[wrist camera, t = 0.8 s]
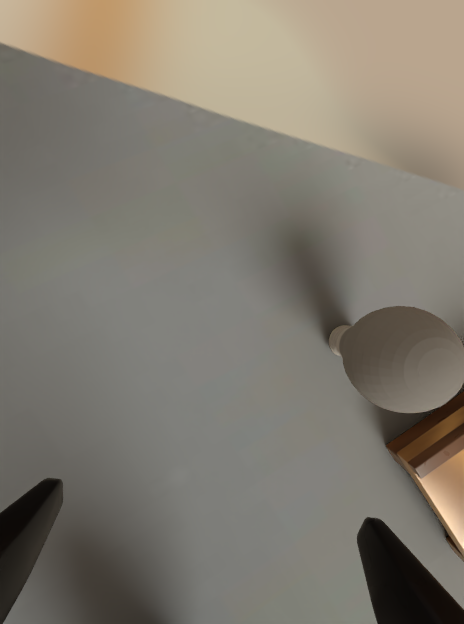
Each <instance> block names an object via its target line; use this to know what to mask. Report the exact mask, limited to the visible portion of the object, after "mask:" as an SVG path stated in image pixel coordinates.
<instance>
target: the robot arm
mask: <svg viewBox="0 0 464 624" xmlns="http://www.w3.org/2000/svg"><path fill="white" fill-rule="evenodd" d="M62 503H63V483H62V480H61V479H55V478H46V479H44V480H43V481H41V482H40V483H39V484H37V485H36V486H35V487H34V488H32V489H31V490H30V491H28V492H27V493H26V494H24V495H23V496H22V497H21V498H19V499H18V500H17V501H15V502H14V503H13V504H11V505H10V506H9V507H7V508H6V509H5V510H4V511H2V512H1V513H0V624H3V622H4V620H5V619H6V617H7V615H8V613H9V612H10V610H11V608H12V606H13V604H14V603H15V601H16V599H17V597H18V596H19V594H20V592H21V590H22V588H23V587H24V585H25V583H26V581H27V579H28V577H29V575H30V573H31V571H32V569H33V567H34V565H35V563H36V560H37V558H38V556H39V554H40V552H41V550H42V548H43V545H44V543H45V541H46V539H47V537H48V535H49V532H50V530H51V528H52V526H53V524H54V522H55V520H56V517H57V515H58V513H59V511H60V509H61V506H62ZM357 544H358V548H359V552H360V556H361V561H362V565H363V569H364V573H365V577H366V581H367V585H368V590H369V594H370V598H371V602H372V606H373V609H374V613H375V616H376V620H377V623H378V624H464V610H463V608H462V607H461V606H460V605H459V604H458V603H457V602H456V601H455V600H454V599H453V597H452V596H451V595H450V594H449V593H448V592H447V591H446V590H445V589H444V588H443V587H442V585H441V584H440V583H439V582H438V581H437V580H436V579H435V578H434V577H433V576H432V574H431V573H430V572H429V571H428V570H427V569H426V568H425V567H424V566H423V565H422V564H421V562H420V561H419V560H418V559H417V558H416V557H415V556H414V555H413V554H412V553H411V551H410V550H409V549H408V548H407V547H406V546H405V545H404V544H403V543H402V542H401V541H400V539H399V538H398V537H397V536H396V535H395V534H394V533H393V532H392V531H391V530H390V528H389V527H388V526H387V525H386V524H385V523H384V522H383V521H382V520H380V519H378V518H370V517H367V518H366V519H365V520H364V522H363V524H362V526H361V528H360V530H359V532H358V535H357Z"/></svg>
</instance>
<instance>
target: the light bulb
mask: <svg viewBox="0 0 464 624" xmlns="http://www.w3.org/2000/svg"><path fill="white" fill-rule="evenodd" d="M329 346H330V349H331V350H332V352H333V353H335V354H336V355H338V356H340V357H342V358H343V365H344V368H345V371H346V374H347V376H348V377H349V379H350V381H351V383H352V384H353V386H354V387H355V388H356V389H357V390H358V392H359V393H360V394H361V395H363V396H364V397H365V398H366V399H368V400H369V401H370V402H372V403H373V404H375V405H377V406H379V407H381V408H383V409H386V410H390V411H394V412H399V413H419V412H426V411H429V410H432V409H435V408H438V407H440V406H442V405H443V404H445V403H447V402H448V401H449V400H450V399H451V398H452V397H454V396H455V395H456V394H457V392H458V391H459V390H460V389H461V387H462V385H463V383H464V346H463V344H462V342H461V340H460V339H459V337H458V336H457V335H456V333H455V332H454V331H453V329H452V328H451V327H450V326H448V325H447V324H446V323H445V322H444V321H443V320H441V319H440V318H438V317H437V316H435V315H433V314H431V313H429V312H427V311H424V310H421V309H418V308H414V307H404V306H396V307H388V308H383V309H380V310H377V311H374V312H371V313H369V314H367V315H366V316H364V317H362V318H361V319H360V320H359V321H358V322H356V323H355V324H354V326H348V325H342V326H339V327H337V328H336V329H334V330H333V331H332V333H331V335H330V337H329Z"/></svg>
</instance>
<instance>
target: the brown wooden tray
mask: <svg viewBox="0 0 464 624" xmlns="http://www.w3.org/2000/svg"><path fill="white" fill-rule="evenodd" d="M386 447H387V449H388V451H389V452H390V454H391V455H392V457H393V458H394V460H395V461H396V462H397V463H399V464H400V465H401V466H402V467H403V468H404V469H405V470H406V471H407V472H409V473H410V475H411V476H412V478H413V479H414V481H415V483H416V484H417V486H418V487H419V489H420V490H421V492H422V493H423V495H424V496H425V498H426V500H427V501H428V503H429V504H430V506H431V507H432V509H433V510H434V512H435V513H436V515H437V517H438V518H439V520H440V521H441V523H442V524H443V526H444V527H445V529H446V530H447V532H448V534H449V535H450V536H448V537H447V538H446V540H447V541H448V543H449V544H450V546H451V548H452V549H453V551H454V552H455V553H456V554H457V555H458V556H459V557H460V558H461V559H462V561H463V562H464V391H463V392H462V393H460V394H459V395H457V396H456V397H454V398H453V399H452V400H450V401H449V402H447V403H446V404H444V405H443V406H442V407H440V408H439V409H437V410H436V411H434V412H433V413H432V414H430V415H429V416H427V417H426V418H424V419H423V420H422V421H420V422H419V423H417V424H416V425H414V426H413V427H412V428H410V429H409V430H407V431H406V432H404V433H403V434H402V435H400V436H399V437H397V438H396V439H394V440H393V441H392V442H390V443H389V444H387V445H386Z"/></svg>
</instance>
